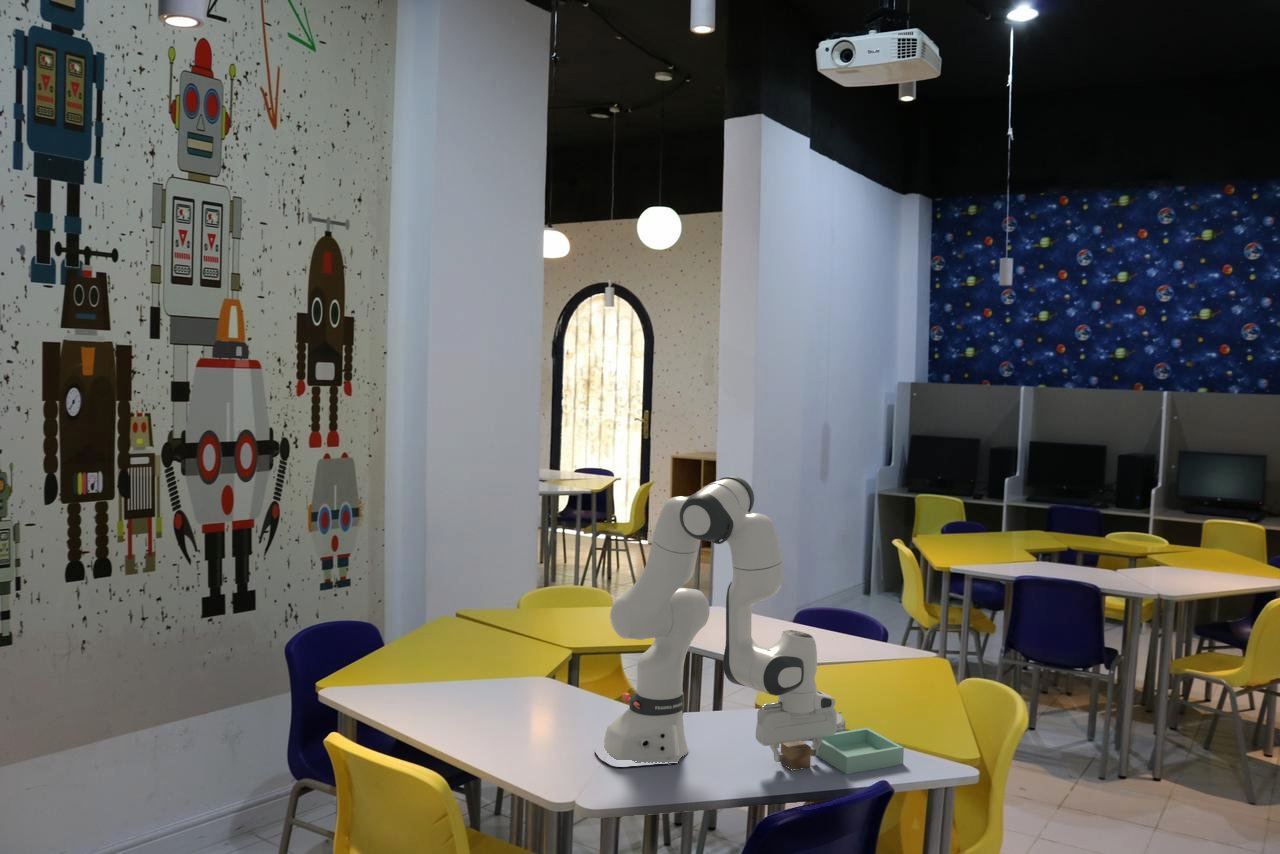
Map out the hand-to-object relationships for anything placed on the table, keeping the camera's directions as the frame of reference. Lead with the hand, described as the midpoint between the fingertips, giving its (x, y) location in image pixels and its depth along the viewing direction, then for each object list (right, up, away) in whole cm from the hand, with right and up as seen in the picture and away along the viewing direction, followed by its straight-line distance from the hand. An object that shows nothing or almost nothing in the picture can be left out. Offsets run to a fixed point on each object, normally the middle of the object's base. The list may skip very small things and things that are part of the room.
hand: (795, 758), depth 236 cm
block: (0, -2, +1) cm, 2 cm away
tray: (+15, -2, +5) cm, 16 cm away
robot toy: (+8, -1, +22) cm, 23 cm away
